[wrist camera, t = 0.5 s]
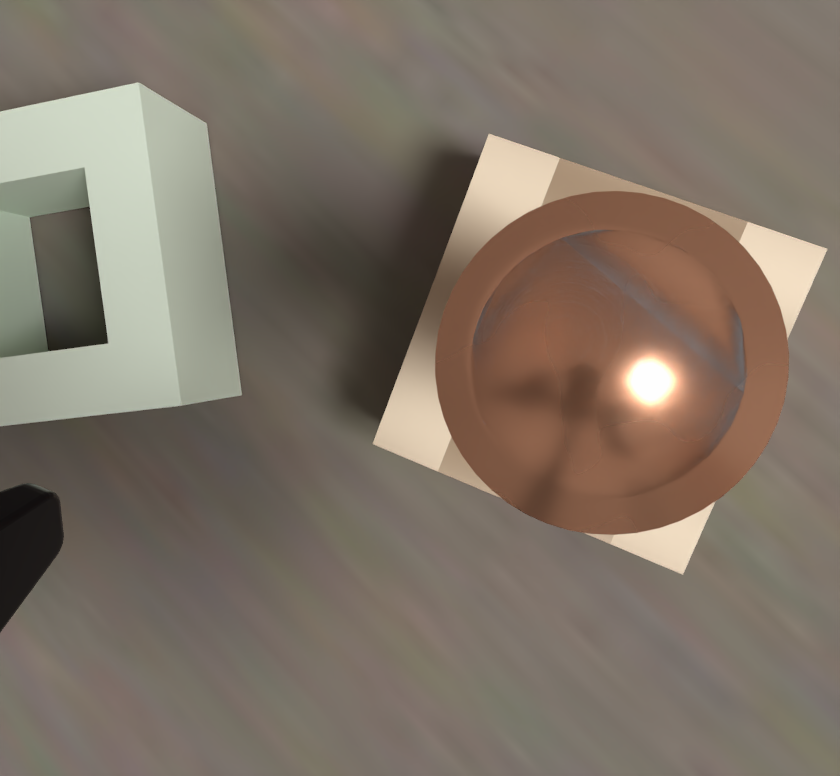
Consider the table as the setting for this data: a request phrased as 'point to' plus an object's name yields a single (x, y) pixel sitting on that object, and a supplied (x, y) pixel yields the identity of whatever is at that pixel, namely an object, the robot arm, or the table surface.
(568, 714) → the table surface
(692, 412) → the lock pin
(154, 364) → the dock socket
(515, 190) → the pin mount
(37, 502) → the robot arm
